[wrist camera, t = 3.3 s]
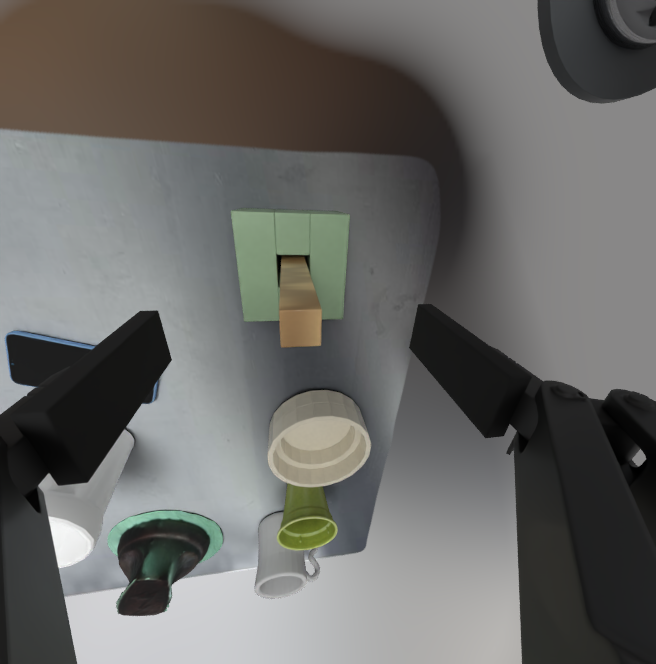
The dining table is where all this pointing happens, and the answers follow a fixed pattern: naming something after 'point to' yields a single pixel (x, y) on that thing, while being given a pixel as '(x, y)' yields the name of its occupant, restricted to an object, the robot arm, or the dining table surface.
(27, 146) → the dining table surface
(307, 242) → the holder
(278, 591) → the mug
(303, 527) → the plant pot
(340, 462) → the bowl
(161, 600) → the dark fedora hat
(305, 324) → the stirring stick
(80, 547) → the cup
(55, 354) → the smartphone
